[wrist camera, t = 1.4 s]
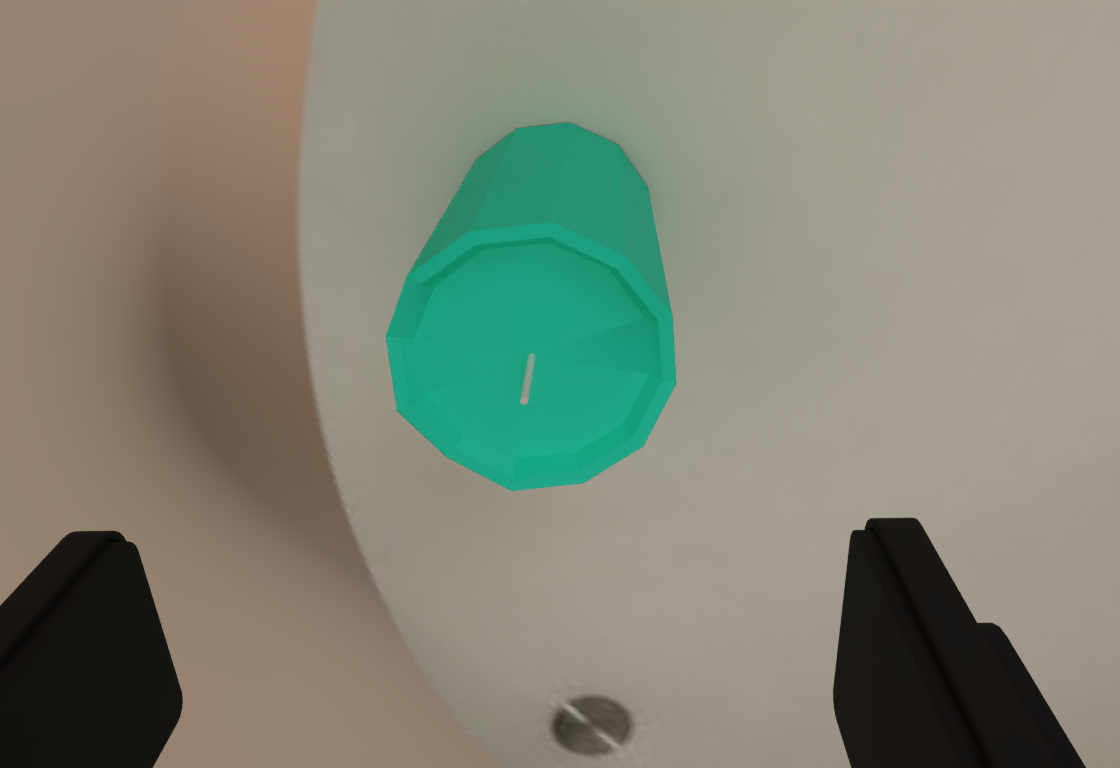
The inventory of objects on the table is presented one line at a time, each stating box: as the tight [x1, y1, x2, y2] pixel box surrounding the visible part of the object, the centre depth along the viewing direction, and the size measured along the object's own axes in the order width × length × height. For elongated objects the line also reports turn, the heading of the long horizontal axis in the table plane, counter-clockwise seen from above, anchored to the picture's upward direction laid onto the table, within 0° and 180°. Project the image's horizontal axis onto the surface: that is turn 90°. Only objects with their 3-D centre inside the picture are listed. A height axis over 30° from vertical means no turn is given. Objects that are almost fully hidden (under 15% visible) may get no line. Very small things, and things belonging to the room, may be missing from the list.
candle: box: [386, 123, 676, 491], centre depth 22 cm, size 6×6×12 cm
